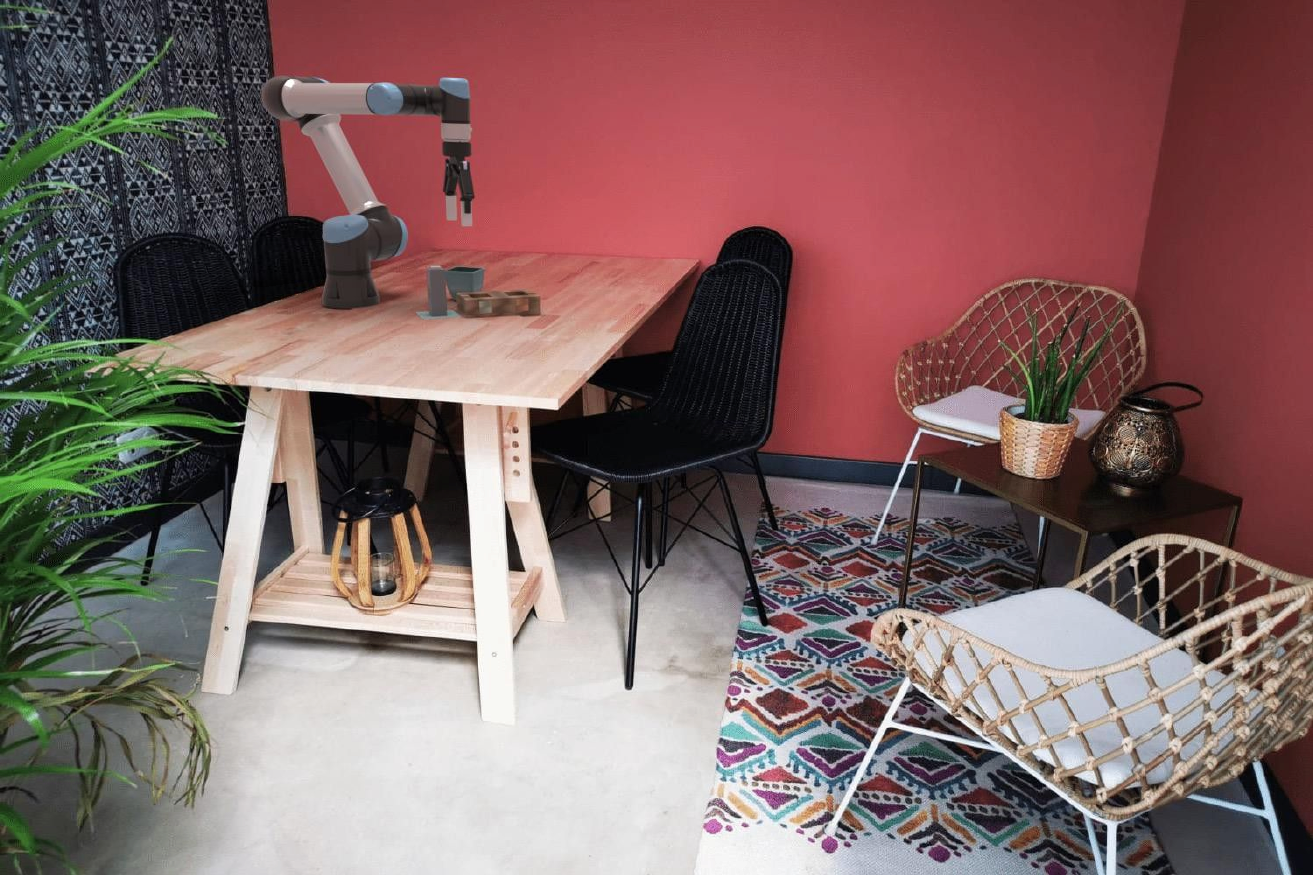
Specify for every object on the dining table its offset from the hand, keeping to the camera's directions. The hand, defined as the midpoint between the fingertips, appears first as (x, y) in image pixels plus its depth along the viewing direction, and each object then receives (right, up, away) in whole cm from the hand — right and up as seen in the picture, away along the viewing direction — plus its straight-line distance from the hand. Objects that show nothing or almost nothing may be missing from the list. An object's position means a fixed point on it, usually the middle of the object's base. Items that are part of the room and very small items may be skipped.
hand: (459, 223), depth 254 cm
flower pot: (-1, -19, +15) cm, 24 cm away
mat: (-4, -26, -6) cm, 27 cm away
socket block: (+11, -24, -1) cm, 27 cm away
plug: (-4, -25, -6) cm, 27 cm away
